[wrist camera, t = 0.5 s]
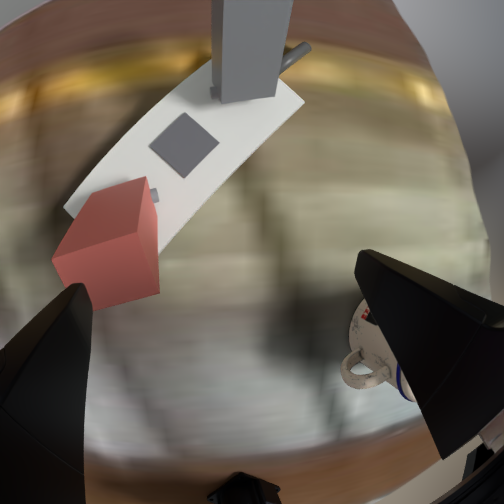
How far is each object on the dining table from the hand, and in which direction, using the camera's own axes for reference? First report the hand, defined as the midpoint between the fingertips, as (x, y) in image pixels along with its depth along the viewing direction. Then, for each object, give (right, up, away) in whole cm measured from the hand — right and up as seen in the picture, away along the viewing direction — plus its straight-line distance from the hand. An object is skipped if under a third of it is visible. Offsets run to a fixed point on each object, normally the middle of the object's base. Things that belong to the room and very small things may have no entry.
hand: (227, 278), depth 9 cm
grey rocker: (0, +13, +11) cm, 17 cm away
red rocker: (-8, +4, +10) cm, 13 cm away
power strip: (-3, +11, +14) cm, 18 cm away
